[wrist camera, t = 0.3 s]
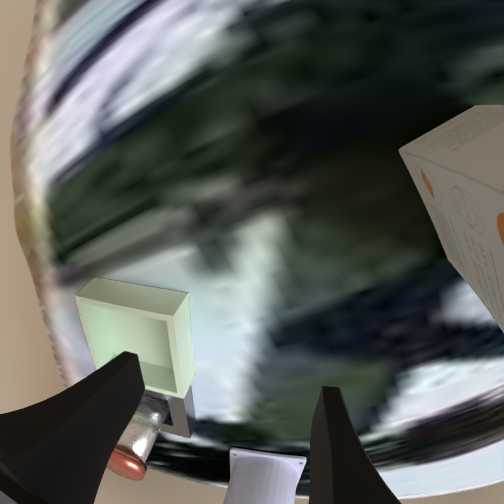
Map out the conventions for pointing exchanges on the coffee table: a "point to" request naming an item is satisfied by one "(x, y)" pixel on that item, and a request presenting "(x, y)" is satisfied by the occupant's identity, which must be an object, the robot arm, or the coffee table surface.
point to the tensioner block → (177, 413)
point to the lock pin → (138, 438)
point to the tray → (140, 330)
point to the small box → (466, 196)
